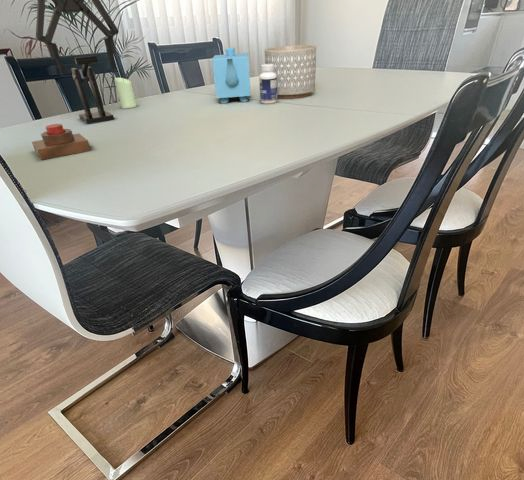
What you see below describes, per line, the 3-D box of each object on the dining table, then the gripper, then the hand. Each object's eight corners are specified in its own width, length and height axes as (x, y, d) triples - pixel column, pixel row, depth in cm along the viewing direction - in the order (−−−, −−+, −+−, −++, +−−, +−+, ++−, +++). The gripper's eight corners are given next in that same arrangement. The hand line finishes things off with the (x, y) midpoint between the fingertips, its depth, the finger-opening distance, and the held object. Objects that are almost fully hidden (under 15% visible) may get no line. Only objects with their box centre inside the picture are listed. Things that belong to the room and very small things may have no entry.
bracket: (114, 119, 116) (100, 67, 107) (87, 124, 113) (70, 70, 104) (105, 114, 122) (91, 65, 114) (80, 119, 119) (63, 68, 111)
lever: (98, 63, 102) (95, 52, 102) (77, 65, 100) (73, 54, 100) (94, 80, 113) (91, 71, 112) (75, 83, 111) (72, 73, 110)
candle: (139, 105, 132) (132, 76, 126) (132, 108, 128) (125, 78, 123) (126, 105, 133) (118, 76, 127) (119, 108, 129) (111, 78, 124)
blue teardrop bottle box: (219, 96, 137) (214, 47, 128) (250, 93, 137) (247, 44, 127) (216, 108, 120) (209, 52, 111) (251, 105, 120) (247, 50, 111)
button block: (41, 160, 86) (33, 140, 83) (35, 151, 92) (28, 133, 89) (91, 150, 90) (84, 131, 87) (82, 143, 96) (76, 124, 93)
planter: (256, 97, 130) (254, 50, 122) (286, 89, 139) (285, 45, 131) (295, 101, 122) (295, 50, 113) (324, 92, 131) (326, 45, 122)
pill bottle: (257, 103, 123) (254, 65, 117) (268, 100, 126) (267, 63, 119) (269, 104, 120) (267, 66, 114) (280, 101, 123) (280, 63, 116)
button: (50, 137, 87) (46, 128, 86) (47, 134, 89) (44, 125, 88) (66, 134, 88) (63, 125, 87) (63, 131, 90) (60, 123, 89)
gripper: (-1, -42, 82) (42, 78, 97) (114, -43, 92) (138, 66, 106) (-4, -38, 87) (38, 76, 102) (105, -40, 96) (129, 65, 111)
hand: (89, 71), depth 104 cm, fingers open, 13 cm apart
